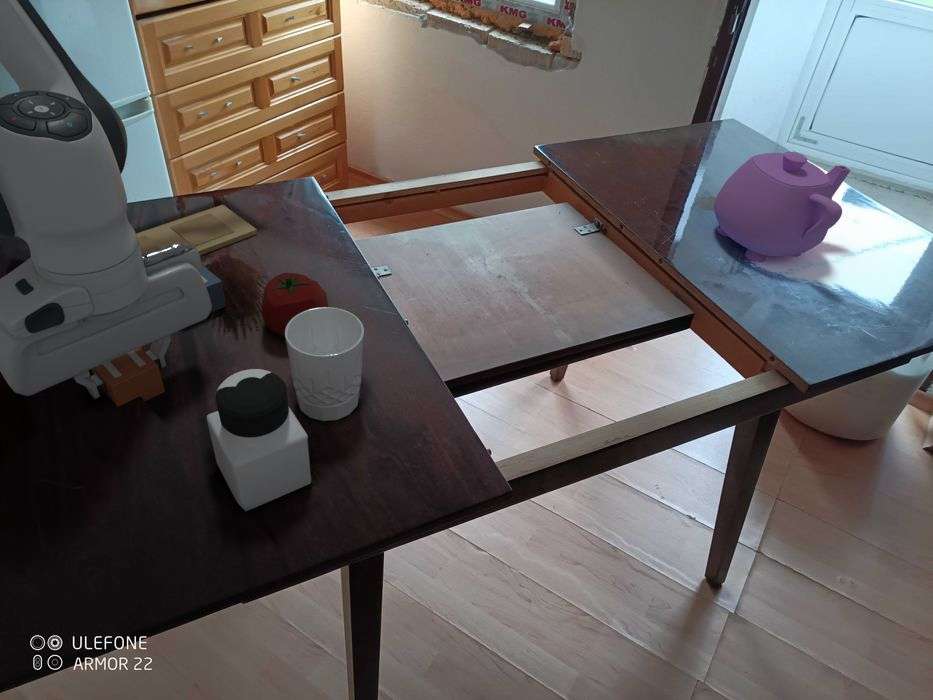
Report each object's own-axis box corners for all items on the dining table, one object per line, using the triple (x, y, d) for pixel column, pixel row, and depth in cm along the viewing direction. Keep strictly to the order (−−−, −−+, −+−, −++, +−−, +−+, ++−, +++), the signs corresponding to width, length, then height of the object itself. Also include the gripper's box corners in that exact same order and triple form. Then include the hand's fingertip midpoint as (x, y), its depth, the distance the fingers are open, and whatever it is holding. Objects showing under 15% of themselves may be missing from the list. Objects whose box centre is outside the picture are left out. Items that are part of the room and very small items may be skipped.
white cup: (300, 372, 79) (294, 303, 72) (369, 378, 79) (368, 310, 73) (284, 422, 73) (276, 352, 66) (358, 428, 73) (357, 359, 67)
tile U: (98, 388, 74) (88, 360, 72) (142, 368, 77) (134, 340, 74) (120, 413, 72) (110, 385, 69) (165, 391, 75) (157, 364, 72)
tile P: (168, 303, 86) (162, 276, 83) (205, 288, 89) (199, 262, 86) (189, 322, 84) (183, 295, 81) (226, 306, 87) (221, 280, 84)
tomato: (268, 350, 81) (262, 302, 76) (258, 310, 87) (251, 263, 82) (335, 339, 84) (333, 291, 79) (321, 300, 89) (318, 254, 85)
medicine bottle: (313, 484, 67) (305, 398, 60) (242, 515, 64) (224, 428, 56) (284, 436, 72) (273, 350, 64) (216, 463, 68) (196, 375, 60)
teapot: (865, 272, 107) (915, 185, 98) (763, 288, 101) (806, 197, 91) (783, 209, 121) (819, 127, 111) (688, 220, 115) (718, 135, 105)
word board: (75, 259, 91) (73, 253, 91) (223, 209, 104) (222, 203, 103) (107, 290, 87) (105, 285, 86) (257, 234, 100) (256, 228, 99)
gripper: (179, 224, 72) (201, 325, 81) (-38, 298, 60) (15, 408, 69) (212, 250, 69) (230, 352, 78) (-11, 334, 57) (41, 443, 66)
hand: (128, 379), depth 73 cm, fingers closed on tile U, 5 cm apart
